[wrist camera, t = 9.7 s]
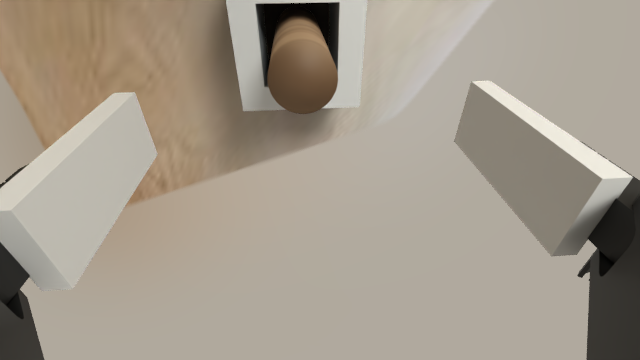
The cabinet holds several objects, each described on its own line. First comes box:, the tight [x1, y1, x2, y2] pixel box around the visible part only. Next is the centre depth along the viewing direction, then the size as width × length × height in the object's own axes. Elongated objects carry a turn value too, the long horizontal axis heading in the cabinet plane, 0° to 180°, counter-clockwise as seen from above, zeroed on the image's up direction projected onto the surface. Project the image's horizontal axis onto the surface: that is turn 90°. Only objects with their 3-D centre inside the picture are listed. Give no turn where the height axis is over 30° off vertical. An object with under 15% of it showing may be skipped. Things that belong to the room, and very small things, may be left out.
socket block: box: [226, 0, 367, 111], centre depth 27 cm, size 10×10×7 cm
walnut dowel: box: [267, 6, 338, 114], centre depth 24 cm, size 4×4×15 cm
